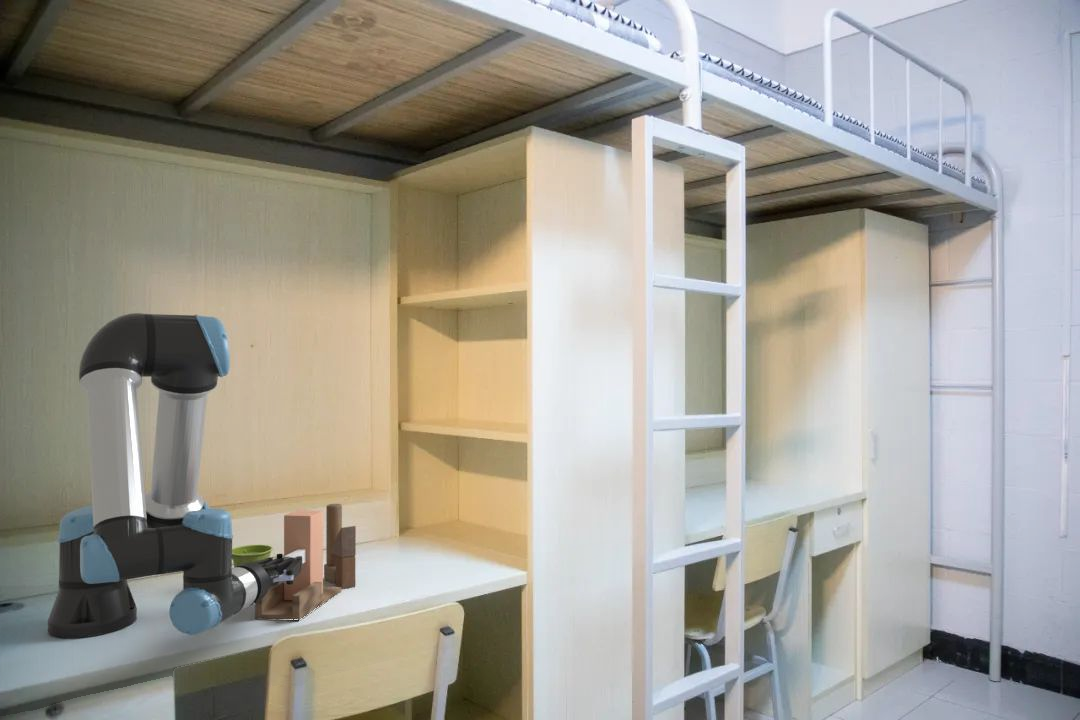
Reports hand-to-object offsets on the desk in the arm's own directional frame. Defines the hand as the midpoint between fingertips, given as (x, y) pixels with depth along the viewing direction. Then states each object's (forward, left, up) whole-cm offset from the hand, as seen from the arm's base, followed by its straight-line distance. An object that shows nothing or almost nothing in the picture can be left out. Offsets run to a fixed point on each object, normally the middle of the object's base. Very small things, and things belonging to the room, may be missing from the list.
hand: (302, 555), depth 159 cm
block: (-2, +3, -10) cm, 10 cm away
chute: (-2, +1, -11) cm, 11 cm away
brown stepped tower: (-6, +17, -11) cm, 22 cm away
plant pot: (-22, +5, -11) cm, 25 cm away
